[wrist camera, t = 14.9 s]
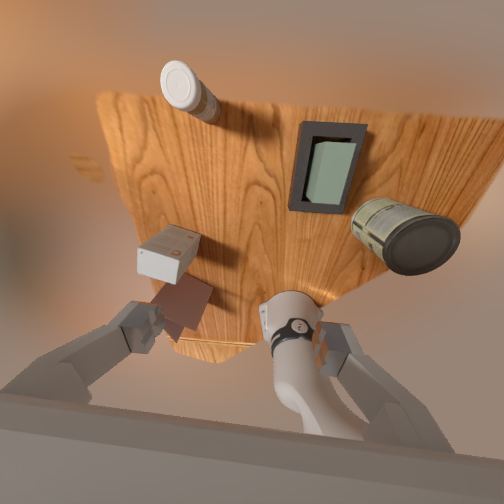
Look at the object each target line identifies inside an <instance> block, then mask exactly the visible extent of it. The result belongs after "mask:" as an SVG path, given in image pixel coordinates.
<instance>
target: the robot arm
mask: <svg viewBox="0 0 504 504" xmlns="http://www.w3.org/2000/svg"><path fill="white" fill-rule="evenodd" d="M162 310H163V308H162V305H160V304H154V303H146V302H138V301H131V302H129V303H128V304H127V305H126V306H125V307H124V308H123V309H122V310H121V311H120V312H119V313H118V314H117V315H116V316H115V317H114V318H113V319H112V320H111V321H110V323H109V324H108V325H103V326H101V327H99V328H97V329H95V330H93V331H92V332H89V333H87V334H85V335H83V336H81V337H79V338H77V339H75V340H73V341H71V342H69V343H67V344H65V345H63V346H61V347H59V348H57V349H55V350H53V351H51V352H49V353H47V354H45V355H43V356H41V357H39V358H37V359H36V360H35V361H34V362H32V363H31V364H30V365H29V366H28V367H27V368H26V369H24V370H23V371H22V372H21V373H20V374H19V375H17V376H16V377H15V378H14V379H13V380H12V381H11V382H10V383H8V384H7V385H6V386H5V387H4V388H3V389H1V390H0V504H504V460H501V459H494V458H486V457H478V456H471V455H464V454H456V453H455V452H454V450H453V449H452V447H451V445H450V444H449V442H448V440H447V439H446V438H445V436H444V434H443V433H442V431H441V430H440V428H439V426H438V425H437V423H436V421H435V420H434V418H433V417H432V415H431V414H430V412H429V410H428V409H427V407H426V406H425V405H423V403H421V402H420V401H419V400H418V399H417V398H416V397H415V396H414V395H412V394H411V393H410V392H409V391H408V390H407V389H406V388H404V387H403V386H402V385H401V384H400V383H399V382H397V380H395V379H394V378H393V377H392V376H391V375H390V374H389V373H387V372H386V371H385V370H384V369H383V368H382V367H381V366H380V365H378V364H377V363H376V362H375V361H374V360H373V359H372V358H370V357H369V356H368V355H364V352H363V351H362V348H361V346H360V344H359V342H358V340H357V338H356V336H355V334H354V332H353V330H352V328H351V326H350V325H349V324H341V323H332V322H321V318H322V316H323V311H322V310H321V309H320V308H318V307H317V306H316V305H315V303H314V301H313V300H312V299H311V298H310V297H309V296H308V295H306V294H304V293H301V292H297V291H286V292H282V293H279V294H277V295H275V296H274V297H272V298H271V299H270V300H269V301H267V302H265V303H262V304H260V305H259V312H260V318H261V324H262V330H263V336H264V340H266V341H268V342H269V345H270V349H271V353H272V357H273V363H274V365H273V367H274V388H275V392H276V394H277V396H278V398H279V400H280V401H281V402H282V403H283V404H284V405H285V406H286V407H287V408H289V409H291V410H293V411H294V412H297V413H299V414H301V416H302V419H303V425H304V432H303V433H299V432H291V431H284V430H277V429H269V428H262V427H254V426H247V425H239V424H232V423H224V422H217V421H209V420H202V419H194V418H187V417H179V416H172V415H165V414H156V413H149V412H141V411H135V410H127V409H119V408H112V407H104V406H97V405H89V404H88V403H89V402H90V400H91V399H92V395H91V393H90V391H89V390H88V388H87V387H88V386H89V385H91V384H92V383H93V382H95V381H96V380H97V379H99V378H100V377H101V376H102V375H104V374H105V373H106V372H108V371H109V370H110V369H111V368H113V367H114V366H115V365H117V364H118V363H119V362H120V361H122V360H123V359H124V358H125V357H127V356H128V355H130V354H131V353H141V354H148V353H149V351H150V350H151V348H152V346H153V345H154V343H155V337H157V336H158V335H160V333H161V332H162V330H163V327H164V324H165V317H164V315H163V314H162V313H161V312H162ZM329 376H332V377H337V379H338V380H339V382H340V383H341V384H342V386H343V387H344V388H345V390H346V391H347V392H348V394H349V395H350V396H351V398H352V399H353V400H354V402H355V403H356V404H357V406H358V407H359V408H360V410H361V411H362V412H363V414H364V415H365V416H366V418H367V419H368V420H369V422H370V423H369V424H368V423H367V422H365V421H364V420H362V419H360V418H359V417H358V416H357V415H355V414H354V413H353V412H352V411H351V410H350V409H349V408H348V407H347V406H346V405H345V404H344V403H343V402H342V401H341V399H340V398H339V396H338V394H337V393H336V391H335V389H334V387H333V385H332V382H331V380H330V377H329Z"/></svg>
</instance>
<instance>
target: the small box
mask: <svg viewBox="0 0 504 504" xmlns="http://www.w3.org/2000/svg"><path fill="white" fill-rule="evenodd" d="M200 238H201V234H198V233H195V232H192V231H189V230H186V229H183V228H180V227H177V226H174V225H171V224H170V225H169V226H167V227H166V228H164V229H163V230H162V231H160V232H159V233H157V234H156V235H155V236H153V237H152V238H150V239H149V240H148V241H146V242H145V243H143V244H142V245H141V246H139V247H138V259H137V273H138V274H141V275H145V276H148V277H151V278H155V279H158V280H161V281H165V282H168V283H171V284H174V285H176V284H177V282H178V281H179V279H180V278H181V276H182V275H183V274H184V272H185V271H186V269H187V268H188V266H189V265H190V264H191V262H192V261H193V259H194V258H195V256H196V255H197V251H198V247H199V242H200Z"/></svg>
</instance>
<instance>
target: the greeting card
mask: <svg viewBox="0 0 504 504" xmlns="http://www.w3.org/2000/svg"><path fill="white" fill-rule="evenodd" d="M212 290H213V287H211V286H209V285H207V284H205V283H203V282H201V281H200V280H198V279H196V278H194V277H192V276H190V275H188V274H186V273H184V274H183V275H182V276H181V278H180V279H179V281H178V282H177V284H176V285H174V284H171V283H168V282H166V284H165V285H164V286H163V287H162V289H161V290H160V291H159V292H158V294H157V295H156V296H155V297H154V299H153V300H152V301H151V303H154V304H160V305H162V308H163V310H162V312H161V313H162V314H163V315H164V317H165V324H164V327H163V329H164V330H165V331H166V332H167V333H168V334H169V335H170V337H171V338H172V339H173V340H174V341H175V342H176V343H177V341H178V339H179V337H180V335H181V333H182V331H183V329H184V327H187V328H189V329H191V330H193V331H196V329H197V327H198V324H199V322H200V320H201V317H202V315H203V312H204V310H205V307H206V305H207V303H208V300H209V298H210V295H211V293H212Z"/></svg>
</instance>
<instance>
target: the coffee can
mask: <svg viewBox="0 0 504 504" xmlns="http://www.w3.org/2000/svg"><path fill="white" fill-rule="evenodd" d="M351 230H352V233H353V234H354V236H355V237H356V238H357V239H359V240H360V241H361V242H362V243H363V244H364V245H366V246H367V247H368V248H369V249H370V250H371V251H372V252H373V253H374V254H376V255H377V256H378V257H379V258H380V259H381V260H382V261H383V262H384V263H385V264H386V265H387V266H388V267H389V269H391V270H392V271H393V272H395V273H398V274H401V275H405V276H413V275H420V274H424V273H428V272H430V271H432V270H434V269H436V268H438V267H440V266H441V265H442V264H444V263H445V262H446V261H447V260H449V258H451V256H452V255H453V254H454V253H455V251H456V249H457V248H458V245H459V243H460V230H459V227H458V226H457V224H456V223H455V222H454V221H452V220H451V219H449V218H446V217H443V216H439V215H435V214H432V213H429V212H426V211H423V210H420V209H417V208H414V207H411V206H408V205H405V204H402V203H399V202H396V201H393V200H392V199H389V198H375V199H372V200H369V201H367V202H366V203H364V204H363V205H361V206H360V207H359V208H358V209H357V210H356V212H355V214H354V215H353V217H352V220H351Z"/></svg>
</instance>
